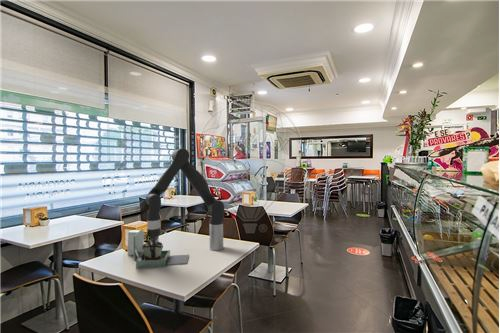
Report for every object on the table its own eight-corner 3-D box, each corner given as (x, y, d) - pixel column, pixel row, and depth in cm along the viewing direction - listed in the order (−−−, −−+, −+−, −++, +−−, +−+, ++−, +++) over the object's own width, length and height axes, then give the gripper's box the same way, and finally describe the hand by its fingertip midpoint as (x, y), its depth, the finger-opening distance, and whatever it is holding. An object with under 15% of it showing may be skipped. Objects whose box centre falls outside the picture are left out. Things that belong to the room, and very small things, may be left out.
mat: (188, 255, 166) (188, 254, 166) (186, 264, 152) (186, 263, 152) (170, 256, 164) (170, 255, 164) (167, 265, 150) (167, 264, 150)
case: (170, 256, 164) (169, 228, 164) (165, 266, 148) (165, 235, 148) (141, 258, 162) (141, 229, 162) (133, 268, 146) (133, 236, 146)
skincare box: (127, 255, 167) (127, 232, 167) (131, 252, 173) (131, 229, 173) (140, 255, 167) (140, 232, 167) (144, 252, 173) (143, 229, 173)
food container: (167, 257, 159) (166, 241, 158) (163, 261, 153) (162, 245, 152) (147, 257, 160) (146, 241, 159) (142, 261, 154) (141, 245, 153)
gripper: (157, 230, 148) (158, 259, 149) (162, 224, 163) (163, 251, 163) (144, 230, 147) (144, 260, 148) (150, 224, 162) (150, 251, 162)
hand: (154, 255), depth 155 cm, fingers closed on food container, 5 cm apart
